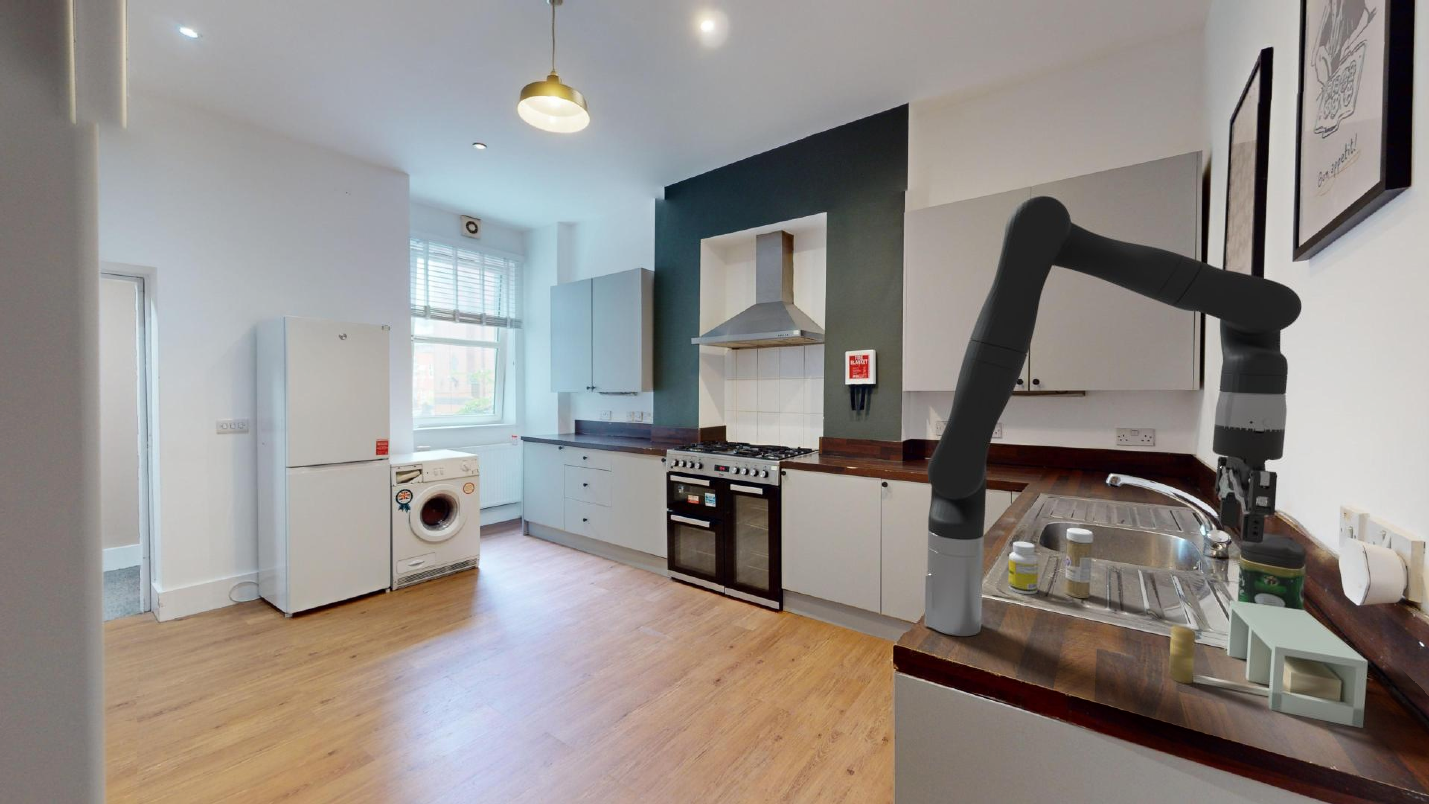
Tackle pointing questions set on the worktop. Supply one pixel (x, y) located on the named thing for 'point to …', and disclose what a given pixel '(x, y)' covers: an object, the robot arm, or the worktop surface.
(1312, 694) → the block
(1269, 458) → the robot arm
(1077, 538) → the spice jar
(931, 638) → the worktop surface
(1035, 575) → the supplement bottle
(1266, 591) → the coffee jar
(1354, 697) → the shelf cubby
